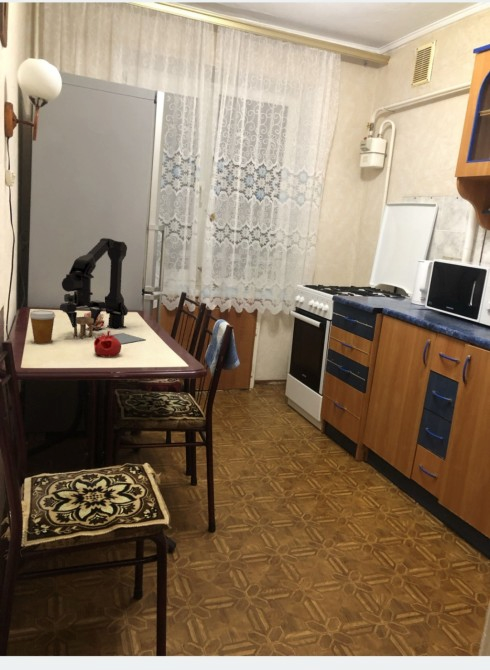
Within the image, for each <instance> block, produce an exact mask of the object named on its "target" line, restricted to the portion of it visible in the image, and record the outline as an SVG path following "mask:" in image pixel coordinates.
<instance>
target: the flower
mask: <svg viewBox="0 0 490 670" xmlns="http://www.w3.org/2000/svg"><path fill="white" fill-rule="evenodd" d="M84 316H85V317H89V318H91V311H89V312H86V313H84V314H83V317H84ZM104 326H105V320H104V314H102V312H101V313H100V314H99V316H98V317H97V319H96V321H95V323H94V325H92V330H93V329H96V330H99V329H100V328H103V327H104ZM86 327H88V331H89V324H86Z"/></svg>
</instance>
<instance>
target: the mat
mask: <svg viewBox="0 0 490 670" xmlns="http://www.w3.org/2000/svg"><path fill="white" fill-rule="evenodd" d="M105 335H106V336H107V334H105ZM111 335H114V338H116V339H118V341H119V342H120V343H121V345H127V344H131V343H132V344H133V343H138V342H144V341H146V339H145V338H143V337H139V336H135V335H132V334H129V333H125V332H119V333H113V334H109V336H111ZM98 337H100V336H99V335H98V336H94V339H95V340H96V339H97V338H98Z"/></svg>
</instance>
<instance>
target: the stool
mask: <svg viewBox="0 0 490 670" xmlns="http://www.w3.org/2000/svg"><path fill="white" fill-rule="evenodd" d="M93 323H94V319H93V318H89V317H85V316H84V315H83V316H77V317H76V325H75V328H73V337H76V338H77V337H78V325H80V326H79V327H80V329H79V332H80V333H79V335H80V337H79V339H80V338H81V340H82V339H84V336H86V335H87V334H86V333H87V324H89V327H88V329H89V330H88V337H89V338H93V329H92V324H93Z"/></svg>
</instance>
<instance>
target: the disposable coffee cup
mask: <svg viewBox="0 0 490 670" xmlns="http://www.w3.org/2000/svg"><path fill="white" fill-rule="evenodd" d="M29 318H30V323H31V328H32V329H31V330H32V335H33V336H32V337H33V342H34V343H35V344H39V345H45V344H50V343H51V342H52V338H53V330H54V322H55V318H56V314H55V311H53V310H47V309H46V310H45V309H43V310H42V309H39V310H37V309H36V310H32V311H30V313H29Z"/></svg>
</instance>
